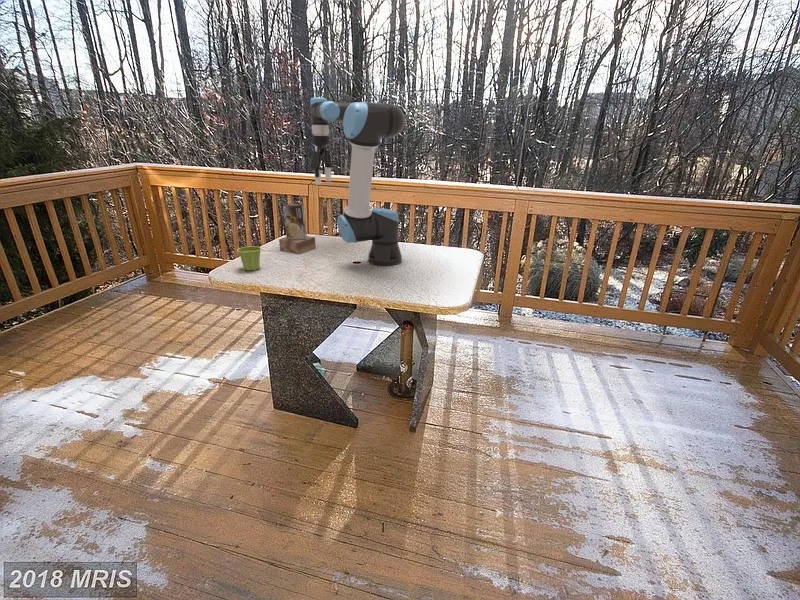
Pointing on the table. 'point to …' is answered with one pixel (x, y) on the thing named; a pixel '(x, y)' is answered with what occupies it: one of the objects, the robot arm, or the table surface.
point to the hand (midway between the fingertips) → (323, 182)
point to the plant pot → (250, 257)
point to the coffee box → (294, 221)
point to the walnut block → (297, 245)
